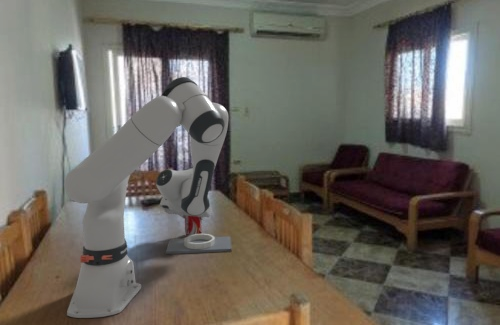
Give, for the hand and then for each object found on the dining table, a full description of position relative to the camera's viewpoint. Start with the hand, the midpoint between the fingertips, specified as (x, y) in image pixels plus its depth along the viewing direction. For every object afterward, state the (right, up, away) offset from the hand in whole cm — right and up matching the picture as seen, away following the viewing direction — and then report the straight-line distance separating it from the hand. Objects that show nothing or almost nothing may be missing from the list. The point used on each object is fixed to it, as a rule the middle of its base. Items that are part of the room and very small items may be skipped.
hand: (193, 217), depth 162 cm
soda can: (0, -7, +1) cm, 7 cm away
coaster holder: (+4, -9, -12) cm, 16 cm away
